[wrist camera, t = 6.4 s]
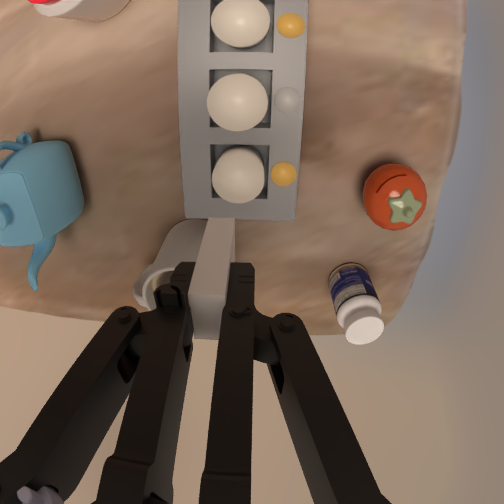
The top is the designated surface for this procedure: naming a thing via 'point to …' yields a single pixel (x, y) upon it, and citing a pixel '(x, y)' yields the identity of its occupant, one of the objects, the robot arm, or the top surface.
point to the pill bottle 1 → (80, 9)
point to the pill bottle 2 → (356, 303)
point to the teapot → (37, 196)
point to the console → (260, 136)
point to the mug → (169, 259)
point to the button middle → (237, 102)
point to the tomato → (394, 196)
